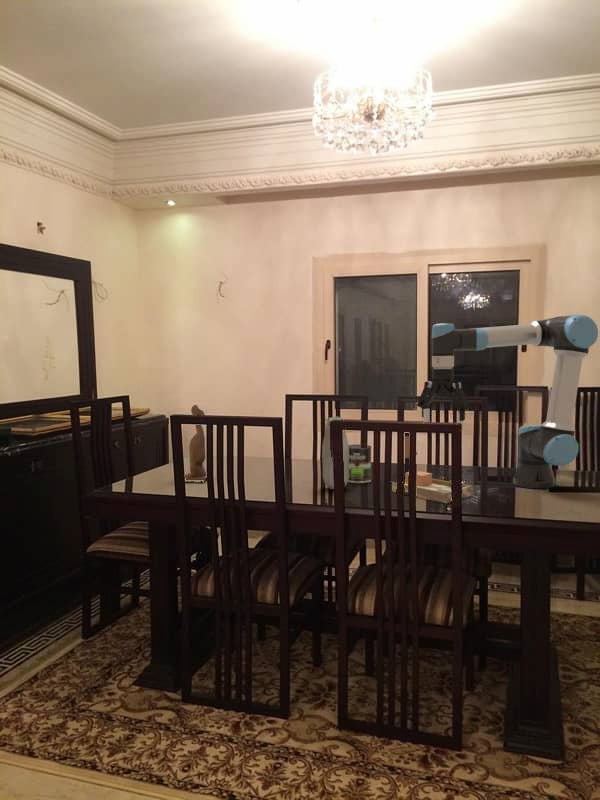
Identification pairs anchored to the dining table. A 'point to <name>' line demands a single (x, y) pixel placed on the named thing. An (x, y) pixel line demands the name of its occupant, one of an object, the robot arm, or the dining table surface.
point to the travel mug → (407, 452)
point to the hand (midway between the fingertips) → (442, 428)
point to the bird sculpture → (197, 451)
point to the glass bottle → (328, 459)
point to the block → (421, 478)
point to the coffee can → (359, 464)
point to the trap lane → (437, 491)
